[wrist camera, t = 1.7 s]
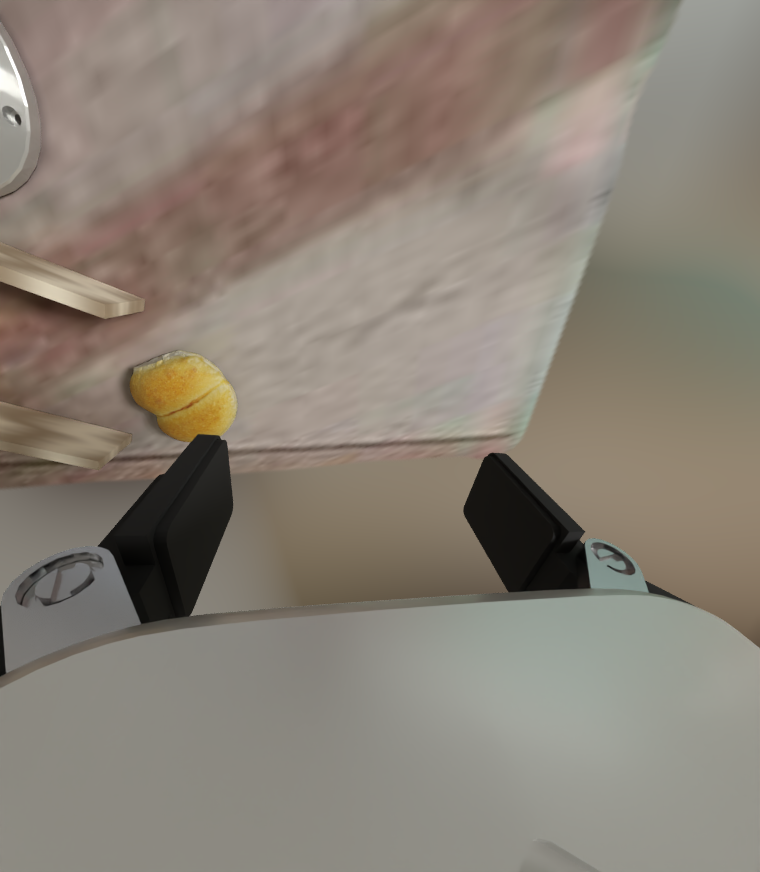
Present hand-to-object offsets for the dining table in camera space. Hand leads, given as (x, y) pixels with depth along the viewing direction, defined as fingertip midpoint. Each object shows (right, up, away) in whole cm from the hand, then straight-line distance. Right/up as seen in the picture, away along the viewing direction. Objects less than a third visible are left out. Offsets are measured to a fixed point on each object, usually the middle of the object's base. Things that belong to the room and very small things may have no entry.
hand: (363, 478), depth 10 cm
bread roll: (-19, +6, +18) cm, 27 cm away
